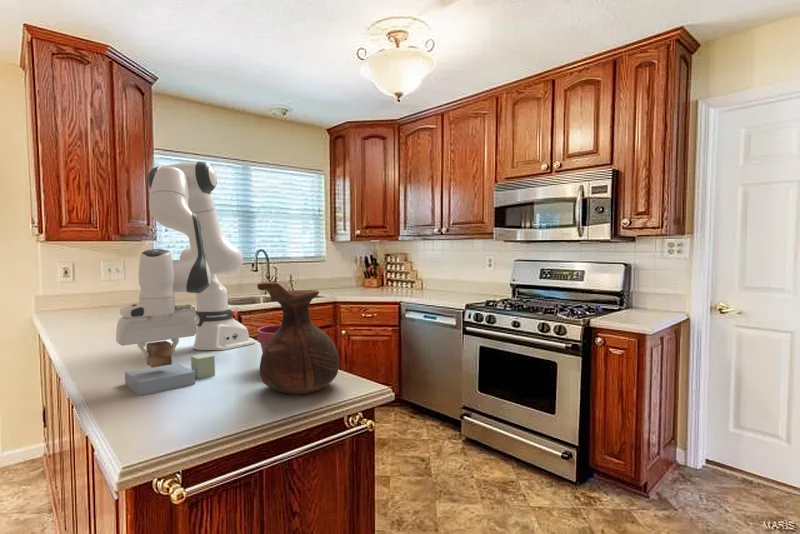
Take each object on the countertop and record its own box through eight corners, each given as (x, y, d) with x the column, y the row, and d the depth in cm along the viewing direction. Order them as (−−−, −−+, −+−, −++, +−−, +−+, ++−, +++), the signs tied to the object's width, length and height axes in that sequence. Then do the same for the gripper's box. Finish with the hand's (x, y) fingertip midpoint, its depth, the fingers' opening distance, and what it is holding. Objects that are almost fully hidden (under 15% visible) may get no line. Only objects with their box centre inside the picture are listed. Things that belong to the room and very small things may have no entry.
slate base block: (177, 375, 140) (177, 362, 139) (195, 385, 130) (194, 371, 129) (125, 385, 130) (124, 371, 130) (140, 397, 120) (139, 382, 120)
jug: (255, 381, 132) (253, 277, 130) (329, 373, 139) (328, 275, 138) (260, 406, 111) (258, 283, 110) (347, 395, 119) (346, 280, 118)
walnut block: (166, 361, 133) (165, 340, 133) (171, 364, 129) (171, 343, 129) (147, 364, 129) (146, 343, 129) (152, 367, 126) (151, 346, 125)
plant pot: (287, 376, 137) (287, 333, 136) (248, 371, 142) (247, 330, 141) (312, 364, 151) (311, 325, 150) (275, 360, 155) (274, 323, 154)
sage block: (208, 372, 142) (207, 353, 141) (214, 375, 138) (214, 356, 138) (191, 375, 138) (191, 356, 138) (198, 379, 134) (197, 358, 134)
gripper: (191, 302, 138) (192, 348, 139) (113, 309, 124) (115, 360, 125) (199, 304, 133) (200, 351, 134) (119, 312, 119) (121, 364, 120)
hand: (159, 356), depth 129 cm, fingers closed on walnut block, 5 cm apart
